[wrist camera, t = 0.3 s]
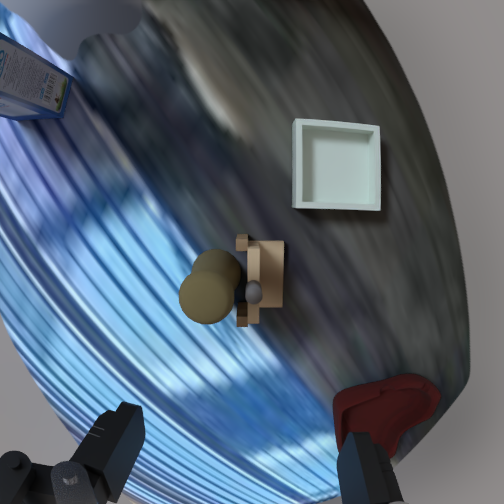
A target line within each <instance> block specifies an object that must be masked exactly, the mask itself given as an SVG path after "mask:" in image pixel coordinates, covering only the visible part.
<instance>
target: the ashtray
mask: <svg viewBox="0 0 504 504" xmlns="http://www.w3.org/2000/svg"><path fill="white" fill-rule="evenodd" d="M440 398H441V394H440V392H439V390H438V389H437V388H436V386H435V385H434V384H433V383H431V382H430V381H429V380H427V379H426V378H424V377H422V376H419V375H417V374H400V375H397V376H394V377H391V378H388V379H384V380H381V381H376V382H371V383H367V384H362V385H357V386H354V387H350V388H347V389H344V390H342V391H340V392H339V393H337V395H336V396H335V397H334V399H333V417H334V427H335V436H336V443H337V448H338V452H339V453H340V451H341V449H342V446H343V444H344V442H345V440H346V437H347V435H348V433H349V432H369V433H370V436H371V439H372V442H373V444H377V443H380V445H381V446H382V447H383V448H384V449H385V450H386V451H387V453H388V456H389V459H390V458H392V457H393V456H394V455H395V453H396V450H397V445H398V441H399V438H400V437H401V435H402V434H403V433H404V432H405V431H406V430H408V429H409V428H411V427H413V426H415V425H417V424H419V423H421V422H423V421H425V420H427V419H429V418H430V417H431V416H432V415H433V413H434V411H435V409H436V407H437V405H438V403H439V401H440Z"/></svg>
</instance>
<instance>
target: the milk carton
mask: <svg viewBox="0 0 504 504" xmlns="http://www.w3.org/2000/svg"><path fill="white" fill-rule="evenodd" d="M72 80H73V76H71V75H69V74H68V73H66V72H65V71H63V70H62V69H60V68H58V67H57V66H55V65H54V64H52V63H50V62H49V61H47V60H46V59H44V58H42V57H41V56H39V55H37V54H36V53H34V52H33V51H31V50H29V49H28V48H26V47H24V46H23V45H21V44H19V43H18V42H16V41H14V40H12V39H11V38H9V37H7V36H6V35H4V34H2V33H1V32H0V116H1V117H4V118H8V119H12V120H15V121H20V120H33V119H50V118H63V116H64V112H65V108H66V103H67V99H68V95H69V91H70V88H71V84H72Z"/></svg>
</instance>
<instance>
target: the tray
mask: <svg viewBox="0 0 504 504" xmlns="http://www.w3.org/2000/svg"><path fill="white" fill-rule="evenodd" d="M380 205H381V156H380V129H379V126H374V125H366V124H357V123H348V122H337V121H325V120H311V119H295V121H294V122H293V124H292V207H293V208H318V209H351V210H375V211H380Z"/></svg>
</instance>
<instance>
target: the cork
mask: <svg viewBox="0 0 504 504" xmlns="http://www.w3.org/2000/svg"><path fill="white" fill-rule="evenodd" d="M240 279H241V269H240V266H239V263H238V261H237V260H236V259H235V257H234V256H233V255H231V254H230V253H229V252H227V251H224V250H221V249H211V250H208V251H205V252H203V253H202V254H201V255H199V256H198V257H197V259H196V260H195V262H194V264H193V267H192V271H191V274H190V275H188V276H187V277H186V278H185V280H184V281H183V283H182V284H181V286H180V290H179V303H180V306H181V308H182V311H183V312H184V313H185V314H186V316H187V317H188V318H190V319H191V320H193V321H194V322H197V323H200V324H214V323H217V322H219V321H221V320H222V319H224V318H225V317H226V316H227V315H228V314H229V313H230V311H231V310H232V307H233V304H234V291H235V289H236V288H237V286H238V285H239V282H240Z"/></svg>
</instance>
